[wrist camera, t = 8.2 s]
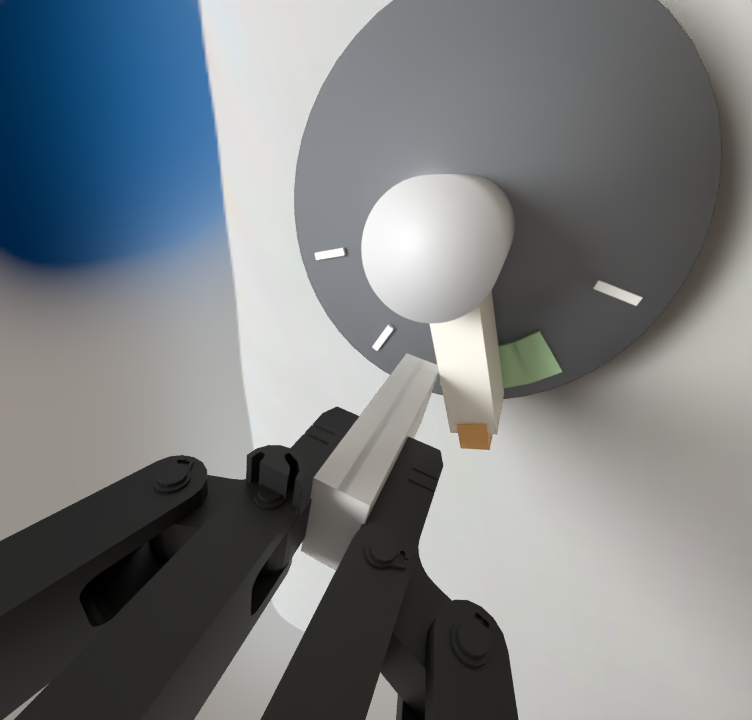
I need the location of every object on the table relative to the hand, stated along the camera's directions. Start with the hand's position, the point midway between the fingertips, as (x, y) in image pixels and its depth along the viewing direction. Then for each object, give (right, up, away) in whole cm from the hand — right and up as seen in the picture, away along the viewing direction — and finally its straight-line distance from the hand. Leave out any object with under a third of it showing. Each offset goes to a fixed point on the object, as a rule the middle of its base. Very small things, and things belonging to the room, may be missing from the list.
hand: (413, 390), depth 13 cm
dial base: (+2, +7, +1) cm, 7 cm away
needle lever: (+2, +3, 0) cm, 4 cm away
